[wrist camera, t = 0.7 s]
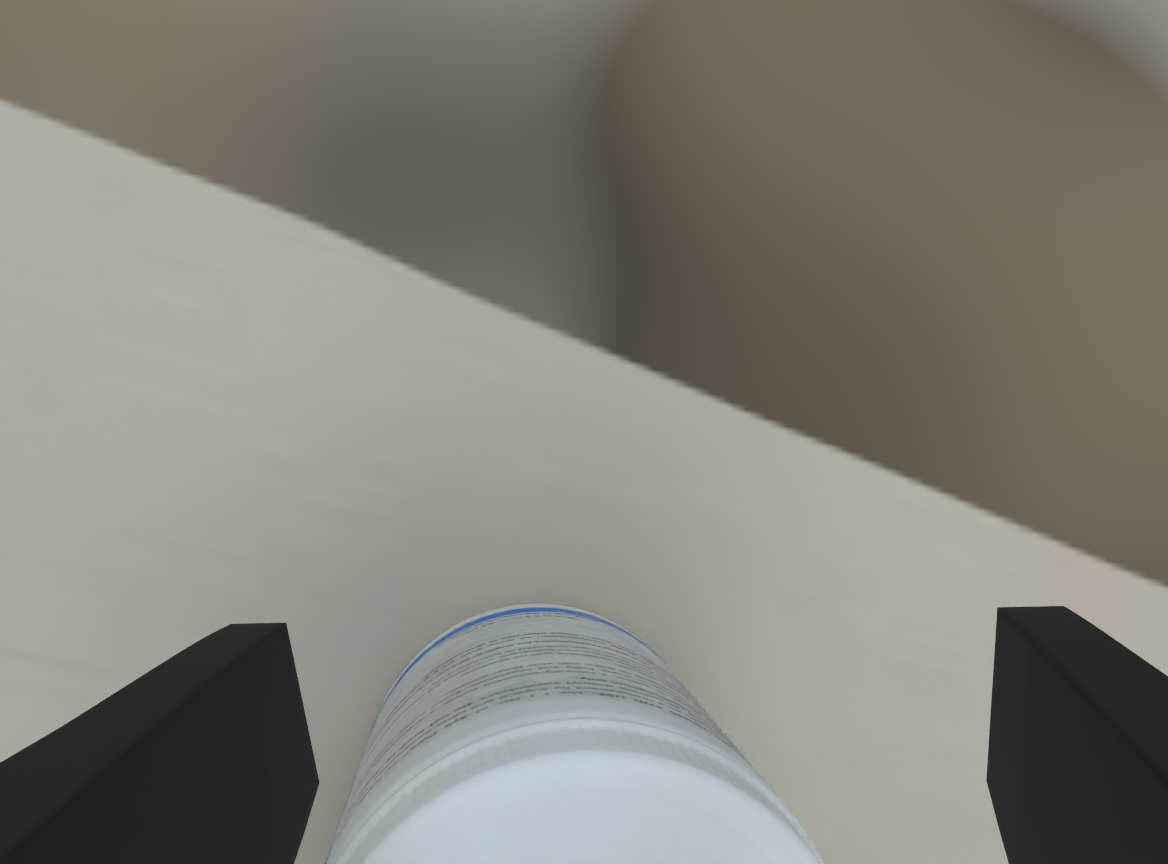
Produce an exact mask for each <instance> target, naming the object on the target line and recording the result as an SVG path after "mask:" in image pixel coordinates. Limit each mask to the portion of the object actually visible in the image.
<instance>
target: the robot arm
mask: <svg viewBox="0 0 1168 864" xmlns="http://www.w3.org/2000/svg"><path fill="white" fill-rule="evenodd" d="M987 784H988V788H989V792H990V795H991V799H992V803H993V807H994V811H995V815H996V818H997V822H998V826H999V830H1000V834H1001V837H1002V841H1003V844H1004V848H1005V851H1006V855H1007V858H1008V862H1009V864H1168V676H1166V675H1165V674H1164V673H1162V672H1161V671H1159V670H1158V669H1156V668H1155V667H1153V666H1152V665H1151V664H1149V663H1148V662H1146V661H1145V660H1143V659H1142V658H1140V657H1139V656H1138V655H1136V654H1135V653H1133V652H1132V651H1130V650H1129V649H1128V648H1126V647H1125V646H1123V645H1122V644H1120V643H1119V642H1117V641H1116V640H1115V639H1113V638H1112V637H1110V636H1109V635H1107V634H1106V633H1104V632H1103V631H1102V630H1100V629H1099V628H1097V627H1096V626H1094V625H1093V624H1091V623H1090V622H1088V621H1087V620H1085V619H1084V618H1082V617H1081V616H1079V615H1077V614H1076V613H1074V612H1072V611H1071V610H1069V609H1068V608H1066V607H1064V606H1048V607H1001V608H998V610H997V626H996V641H995V657H994V673H993V688H992V704H991V720H990V735H989V751H988V767H987ZM318 785H319V779H318V774H317V769H316V765H315V760H314V755H313V750H312V745H311V740H310V736H309V731H308V726H307V721H306V716H305V712H304V707H303V702H302V697H301V692H300V687H299V683H298V678H297V673H296V668H295V663H294V659H293V654H292V649H291V644H290V639H289V635H288V630H287V625H286V623H256V624H230V625H228V626H226V627H224V628H222V629H220V630H218V631H216V632H214V633H212V634H210V635H209V636H207V637H205V638H203V639H201V640H200V641H198V642H196V643H195V644H193V645H191V646H190V647H188V648H186V649H185V650H183V651H181V652H180V653H178V654H176V655H175V656H173V657H172V658H170V659H168V660H167V661H165V662H164V663H162V664H160V665H159V666H157V667H156V668H154V669H152V670H151V671H149V672H148V673H146V674H145V675H143V676H141V677H140V678H138V679H137V680H135V681H134V682H132V683H130V684H129V685H127V686H126V687H124V688H122V689H121V690H119V691H118V692H116V693H115V694H113V695H111V696H110V697H108V698H107V699H105V700H103V701H102V702H100V703H99V704H97V705H95V706H94V707H92V708H91V709H89V710H88V711H86V712H84V713H83V714H81V715H80V716H78V717H76V718H75V719H73V720H72V721H70V722H69V723H67V724H65V725H64V726H62V727H60V728H59V729H57V730H55V731H54V732H52V733H50V734H49V735H47V736H45V737H43V738H42V739H40V740H38V741H37V742H35V743H33V744H32V745H30V746H28V747H26V748H25V749H23V750H21V751H20V752H18V753H16V754H15V755H13V756H11V757H9V758H8V759H6V760H4V761H3V762H1V763H0V864H294V862H295V859H296V856H297V853H298V850H299V847H300V844H301V841H302V838H303V835H304V832H305V828H306V825H307V822H308V818H309V815H310V812H311V808H312V805H313V802H314V798H315V795H316V792H317V788H318Z"/></svg>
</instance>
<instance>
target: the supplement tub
mask: <svg viewBox="0 0 1168 864" xmlns="http://www.w3.org/2000/svg"><path fill="white" fill-rule="evenodd" d="M325 864H824V862H823V860H822V858H821V857H820V855H819V853H818V851H817V849H816V847H815V846H814V844H813V843H812V841H811V840H810V838H809V837H808V835H807V834H806V832H805V831H804V829H803V828H802V827H801V825H800V824H799V822H798V821H797V820H796V819H795V817H794V816H793V814H792V813H791V811H790V810H789V809H788V808H787V807H786V805H785V804H784V803H783V802H782V800H781V799H780V798H779V797H778V796H777V794H776V793H775V792H774V791H773V789H772V788H771V787H770V786H769V785H768V784H767V782H766V781H765V780H764V779H763V778H762V776H761V775H760V774H759V773H758V772H757V771H756V769H755V768H754V767H753V766H752V765H751V764H750V762H749V761H748V760H747V759H746V758H745V757H744V755H743V754H742V753H741V752H740V751H739V750H738V749H737V747H736V746H735V745H734V744H733V743H732V741H731V740H730V739H729V738H728V737H727V735H726V734H725V733H724V732H723V731H722V729H721V728H720V727H719V726H718V725H717V723H716V722H715V721H714V720H713V719H712V717H711V716H710V715H709V714H708V713H707V712H706V710H705V709H704V708H703V707H702V706H701V704H700V703H699V702H698V701H697V700H696V699H695V697H694V696H693V695H692V694H691V693H690V692H689V690H688V689H687V688H686V687H685V686H684V684H683V683H682V682H681V681H680V680H679V678H678V677H677V676H676V675H675V674H674V672H673V671H672V670H671V669H670V668H669V666H668V665H667V664H666V663H665V662H664V661H663V660H662V659H661V658H660V657H659V656H658V655H657V654H656V653H655V652H654V651H653V650H652V649H651V648H650V647H649V646H648V645H647V644H645V643H644V642H643V641H642V640H641V639H639V638H638V637H637V636H635V635H634V634H632V633H631V632H629V631H628V630H626V629H625V628H624V627H622V626H620V625H618V624H616V623H614V622H613V621H610V620H608V619H606V618H604V617H602V616H600V615H597V614H595V613H592V612H589V611H586V610H583V609H579V608H574V607H569V606H563V605H556V604H520V605H513V606H507V607H502V608H498V609H494V610H491V611H487V612H483V613H481V614H478V615H476V616H473V617H471V618H468V619H466V620H464V621H462V622H460V623H458V624H456V625H455V626H453V627H451V628H450V629H448V630H447V631H445V632H444V633H442V634H441V635H440V636H438V637H437V638H435V639H434V640H433V641H431V642H430V643H429V644H428V645H427V646H426V647H424V648H423V649H422V650H421V651H420V652H419V653H418V654H417V655H416V656H415V657H414V658H413V659H412V660H411V661H410V663H409V664H408V665H407V666H406V668H405V669H404V670H403V671H402V673H401V674H400V676H399V677H398V679H397V680H396V681H395V683H394V684H393V686H392V687H391V689H390V691H389V692H388V694H387V696H386V698H385V700H384V702H383V704H382V706H381V708H380V710H379V713H378V715H377V718H376V720H375V723H374V726H373V729H372V732H371V735H370V737H369V740H368V743H367V746H366V748H365V751H364V754H363V757H362V759H361V762H360V765H359V768H358V771H357V773H356V776H355V779H354V782H353V785H352V788H351V790H350V793H349V796H348V799H347V802H346V805H345V808H344V811H343V813H342V816H341V819H340V822H339V825H338V828H337V831H336V834H335V836H334V839H333V842H332V845H331V848H330V851H329V854H328V857H327V860H326V862H325Z"/></svg>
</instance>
